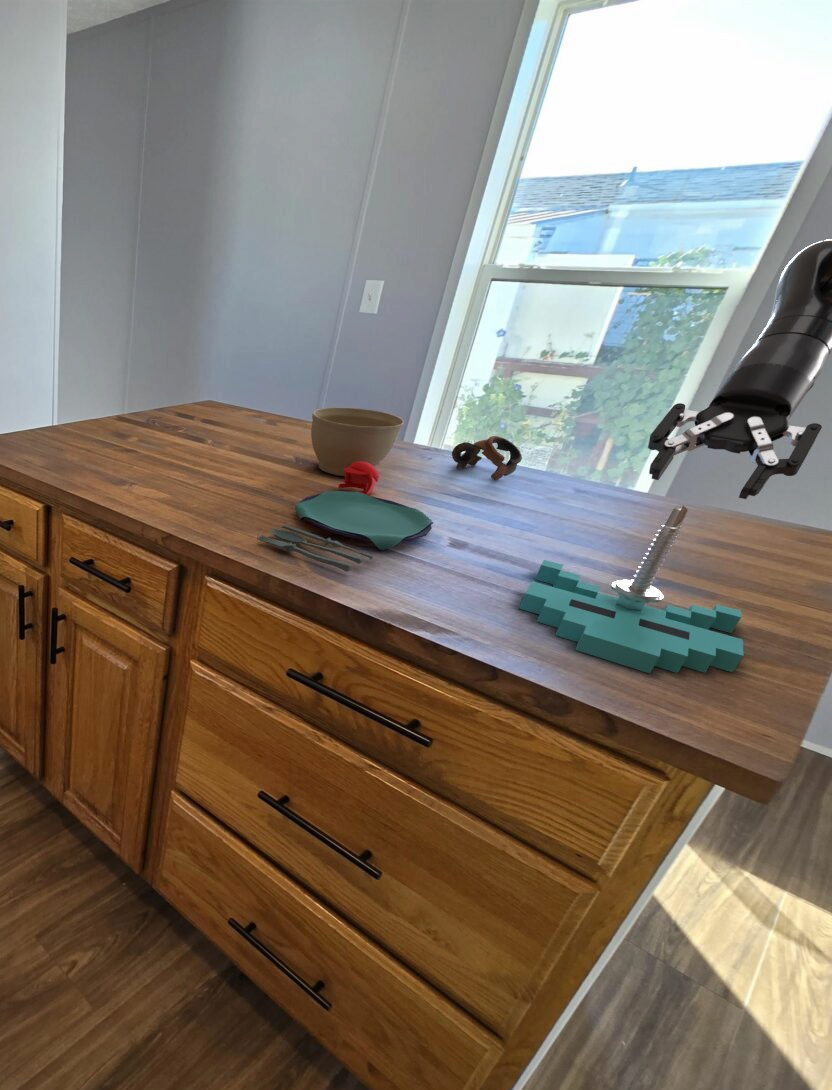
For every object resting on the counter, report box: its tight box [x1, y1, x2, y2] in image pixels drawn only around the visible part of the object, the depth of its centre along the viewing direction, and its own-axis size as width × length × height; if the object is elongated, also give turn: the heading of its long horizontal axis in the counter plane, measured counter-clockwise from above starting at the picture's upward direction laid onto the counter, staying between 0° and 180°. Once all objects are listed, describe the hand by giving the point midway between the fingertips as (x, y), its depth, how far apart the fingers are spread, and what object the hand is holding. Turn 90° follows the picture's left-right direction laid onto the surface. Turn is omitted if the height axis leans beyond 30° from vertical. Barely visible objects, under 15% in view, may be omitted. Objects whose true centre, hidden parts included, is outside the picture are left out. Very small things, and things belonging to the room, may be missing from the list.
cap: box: [338, 461, 380, 496], centre depth 118 cm, size 8×6×6 cm
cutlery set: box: [256, 490, 434, 573], centre depth 103 cm, size 20×30×2 cm, turn 130°
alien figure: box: [518, 559, 745, 674], centre depth 79 cm, size 20×2×20 cm
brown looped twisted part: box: [451, 435, 523, 481], centre depth 129 cm, size 12×10×8 cm
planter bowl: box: [310, 406, 405, 477], centre depth 128 cm, size 16×16×11 cm
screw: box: [610, 505, 689, 611], centre depth 77 cm, size 13×5×5 cm
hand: (698, 485), depth 82 cm, fingers open, 8 cm apart
